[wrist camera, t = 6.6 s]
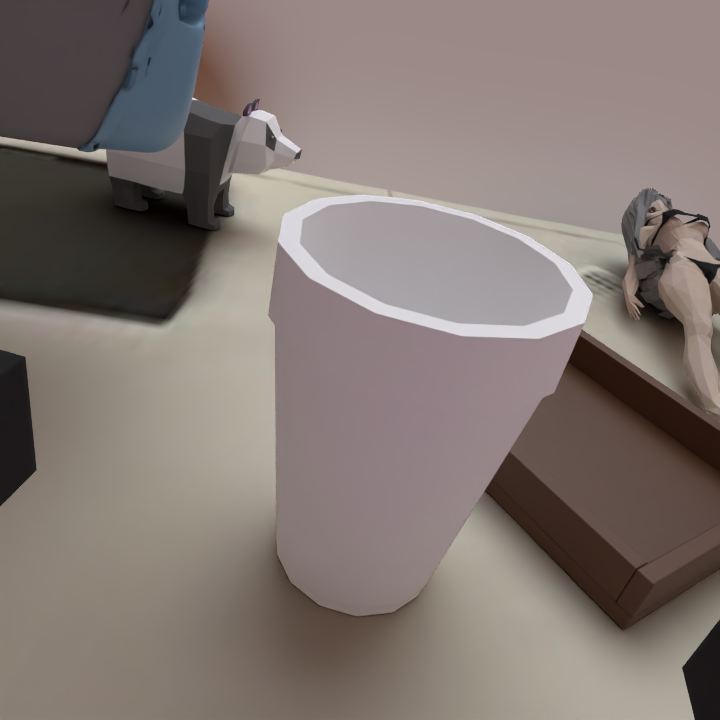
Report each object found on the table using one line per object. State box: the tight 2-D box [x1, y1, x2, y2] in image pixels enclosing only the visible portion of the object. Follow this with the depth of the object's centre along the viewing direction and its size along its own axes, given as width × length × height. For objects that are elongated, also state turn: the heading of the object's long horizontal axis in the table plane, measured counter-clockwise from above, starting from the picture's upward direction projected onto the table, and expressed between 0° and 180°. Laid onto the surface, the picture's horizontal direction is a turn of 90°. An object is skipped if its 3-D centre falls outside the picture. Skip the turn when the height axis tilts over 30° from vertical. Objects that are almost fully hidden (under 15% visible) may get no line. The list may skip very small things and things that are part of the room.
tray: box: [485, 330, 720, 629], centre depth 34 cm, size 18×14×3 cm
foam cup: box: [268, 194, 593, 616], centre depth 23 cm, size 10×9×13 cm
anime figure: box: [622, 189, 720, 422], centre depth 48 cm, size 10×7×30 cm
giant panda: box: [106, 98, 302, 230], centre depth 49 cm, size 15×6×10 cm, turn 81°
